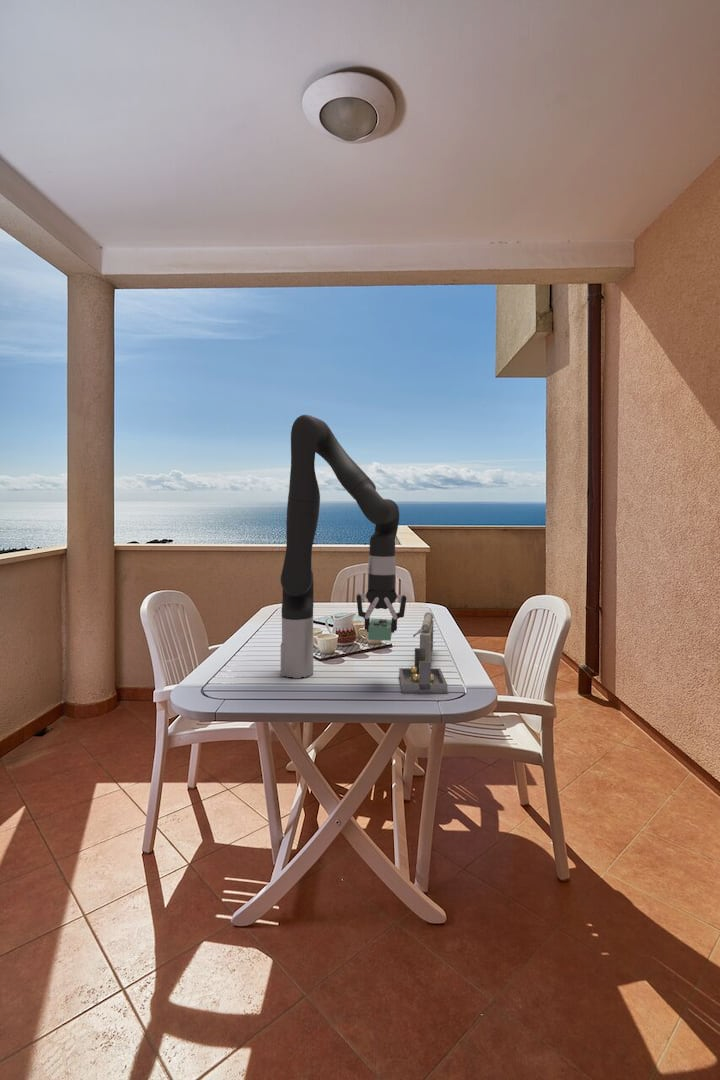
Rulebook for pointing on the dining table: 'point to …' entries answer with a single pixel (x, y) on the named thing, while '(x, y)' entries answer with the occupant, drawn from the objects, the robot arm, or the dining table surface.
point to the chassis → (422, 676)
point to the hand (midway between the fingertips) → (380, 631)
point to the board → (380, 629)
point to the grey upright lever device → (427, 636)
